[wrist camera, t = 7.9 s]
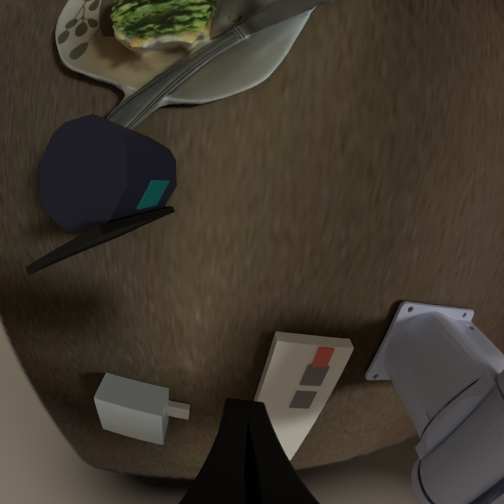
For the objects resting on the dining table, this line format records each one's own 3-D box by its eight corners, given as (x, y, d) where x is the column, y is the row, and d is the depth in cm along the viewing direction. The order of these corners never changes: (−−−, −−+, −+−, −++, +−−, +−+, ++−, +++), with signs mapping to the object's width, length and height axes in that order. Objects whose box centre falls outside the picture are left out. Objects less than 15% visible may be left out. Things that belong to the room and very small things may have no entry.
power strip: (349, 338, 21) (354, 349, 20) (287, 454, 27) (288, 464, 26) (275, 331, 21) (277, 342, 19) (235, 452, 27) (235, 462, 25)
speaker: (184, 236, 18) (123, 290, 9) (115, 237, 18) (28, 283, 9) (182, 131, 16) (114, 96, 8) (111, 140, 16) (16, 126, 8)
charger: (191, 391, 23) (186, 421, 20) (188, 421, 25) (184, 449, 21) (106, 371, 22) (93, 397, 19) (113, 403, 24) (102, 428, 21)
